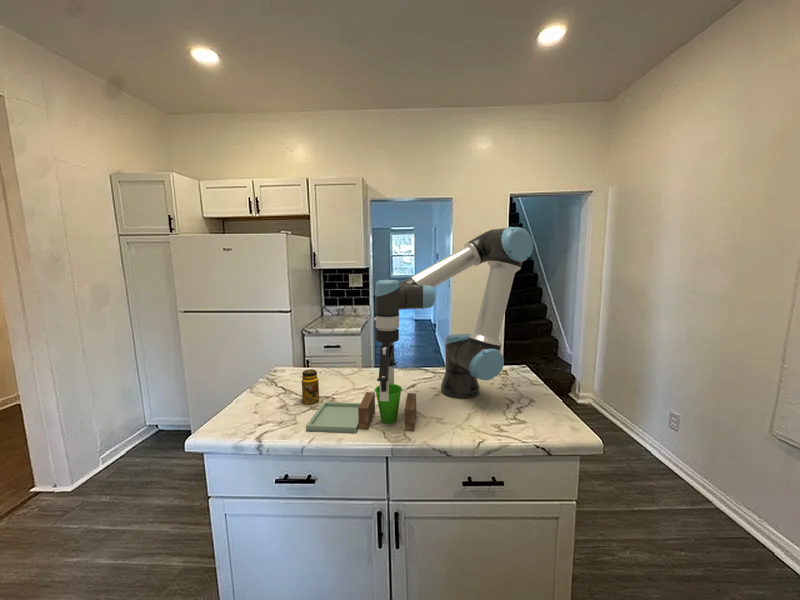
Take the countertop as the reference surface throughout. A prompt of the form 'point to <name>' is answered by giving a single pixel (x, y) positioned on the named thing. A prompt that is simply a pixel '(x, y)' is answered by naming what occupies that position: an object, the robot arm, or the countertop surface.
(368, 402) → the holder
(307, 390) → the condiment
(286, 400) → the countertop surface
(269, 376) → the countertop surface
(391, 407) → the cup
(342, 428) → the tray
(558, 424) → the countertop surface
